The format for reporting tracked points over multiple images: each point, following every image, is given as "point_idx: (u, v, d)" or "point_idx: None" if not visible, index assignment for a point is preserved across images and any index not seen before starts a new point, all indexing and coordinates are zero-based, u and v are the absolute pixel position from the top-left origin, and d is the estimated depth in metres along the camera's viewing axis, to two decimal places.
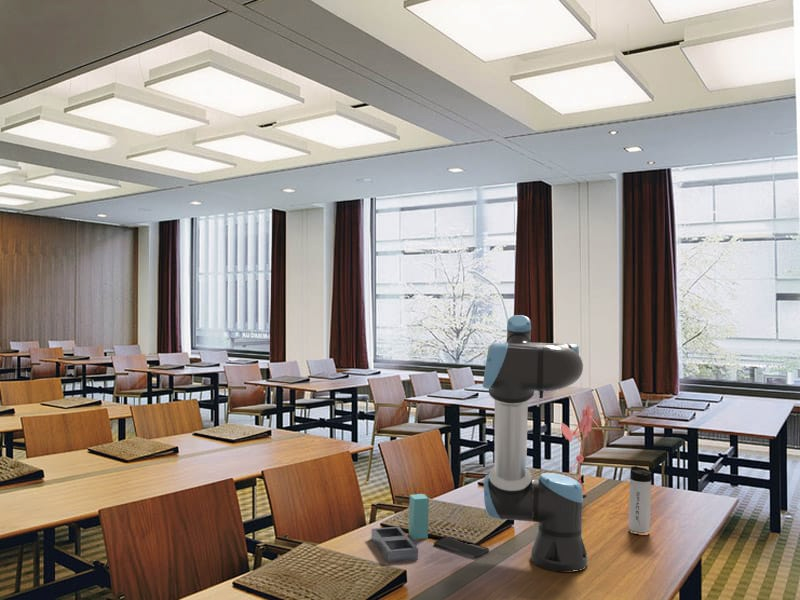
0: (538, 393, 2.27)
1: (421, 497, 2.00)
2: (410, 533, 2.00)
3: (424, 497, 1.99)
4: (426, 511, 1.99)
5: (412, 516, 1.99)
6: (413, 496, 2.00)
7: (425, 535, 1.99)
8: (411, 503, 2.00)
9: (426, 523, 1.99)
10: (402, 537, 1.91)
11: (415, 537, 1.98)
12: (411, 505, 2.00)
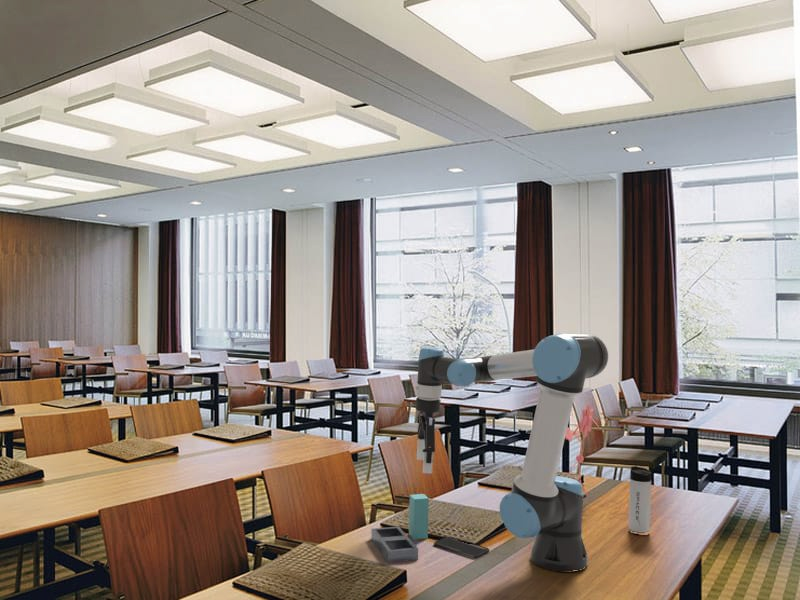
0: None
1: (421, 497, 2.00)
2: (410, 533, 2.00)
3: (424, 497, 1.99)
4: (426, 511, 1.99)
5: (412, 516, 1.99)
6: (413, 496, 2.00)
7: (425, 535, 1.99)
8: (411, 503, 2.00)
9: (426, 523, 1.99)
10: (402, 537, 1.91)
11: (415, 537, 1.98)
12: (411, 505, 2.00)
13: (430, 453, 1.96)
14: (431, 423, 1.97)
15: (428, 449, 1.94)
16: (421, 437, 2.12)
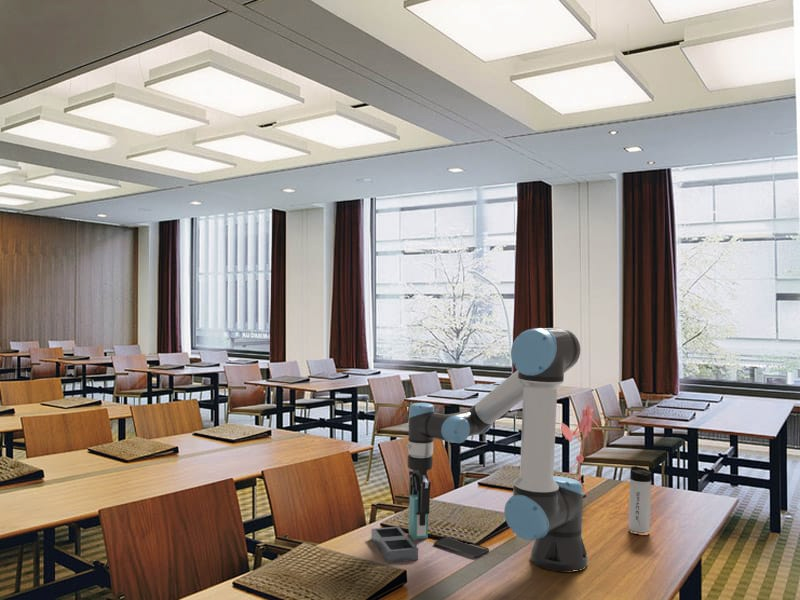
0: None
1: None
2: (410, 533, 2.00)
3: None
4: None
5: (412, 516, 1.99)
6: (413, 496, 2.00)
7: None
8: (411, 503, 2.00)
9: (426, 523, 1.99)
10: (402, 537, 1.91)
11: (415, 537, 1.98)
12: (411, 505, 2.00)
13: (424, 515, 1.96)
14: (427, 487, 1.94)
15: (423, 513, 1.94)
16: None
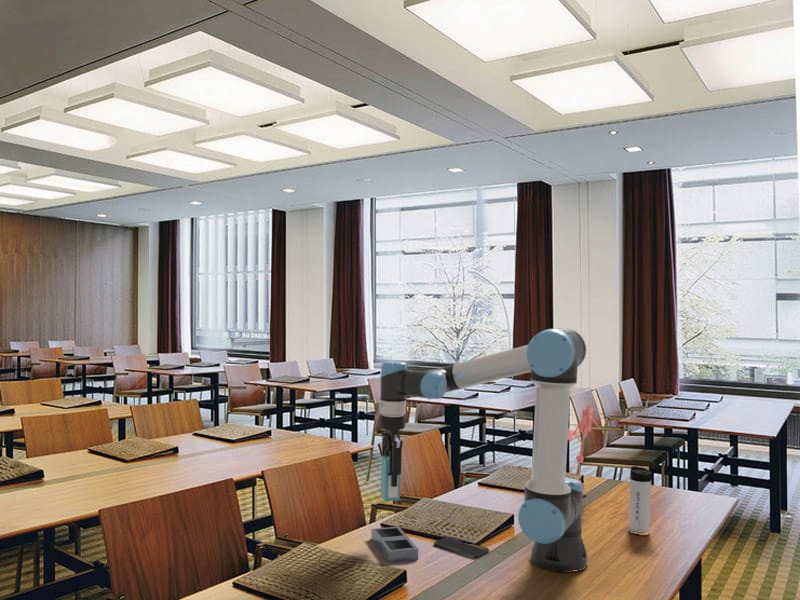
0: None
1: None
2: (382, 495, 1.94)
3: None
4: None
5: (384, 477, 1.93)
6: (385, 457, 1.94)
7: None
8: (383, 464, 1.94)
9: (398, 484, 1.93)
10: (402, 537, 1.91)
11: (387, 499, 1.92)
12: (383, 466, 1.94)
13: (395, 476, 1.90)
14: (398, 446, 1.88)
15: (394, 473, 1.88)
16: None
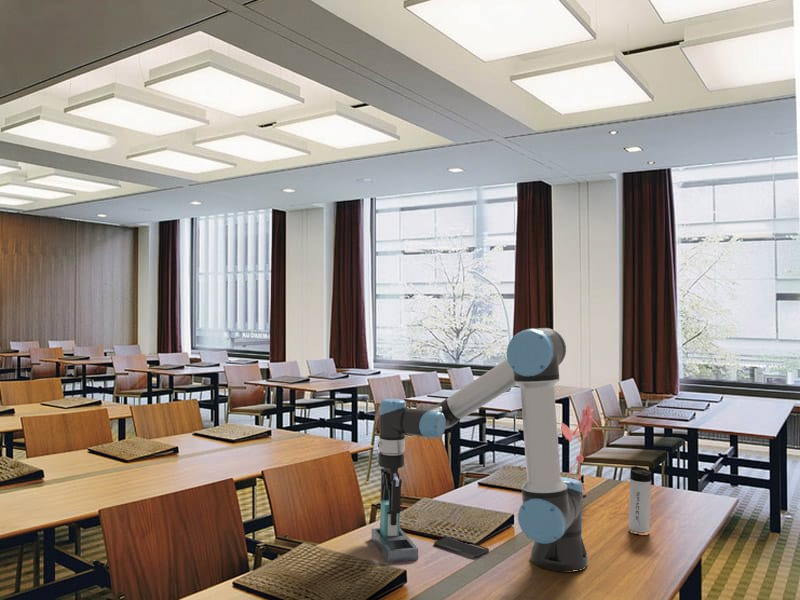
0: None
1: None
2: None
3: None
4: (398, 517, 1.93)
5: (383, 522, 1.93)
6: (384, 501, 1.94)
7: None
8: (382, 509, 1.94)
9: (397, 529, 1.93)
10: (402, 537, 1.91)
11: None
12: (382, 511, 1.94)
13: (395, 515, 1.90)
14: (397, 485, 1.88)
15: (393, 512, 1.88)
16: None
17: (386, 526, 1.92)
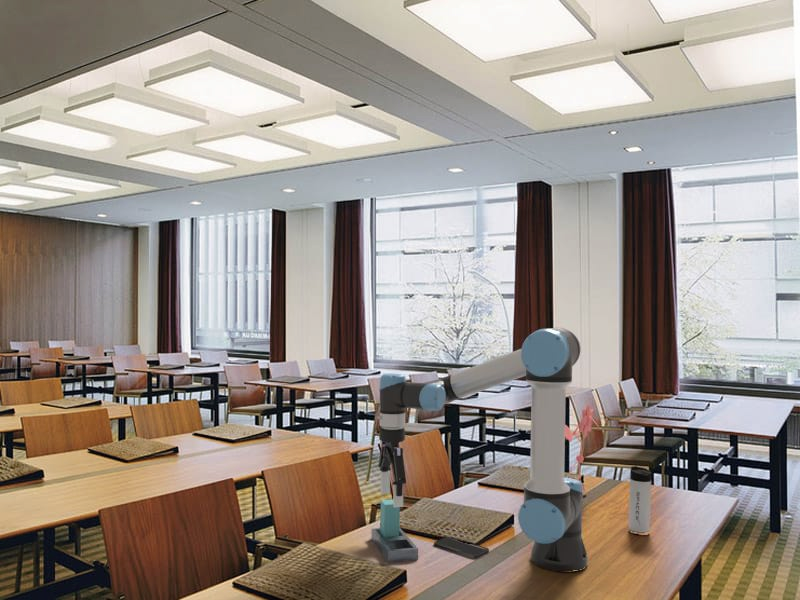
0: None
1: (392, 502, 1.94)
2: None
3: None
4: (398, 517, 1.93)
5: (383, 522, 1.93)
6: (384, 501, 1.94)
7: None
8: (382, 509, 1.94)
9: (397, 529, 1.93)
10: (402, 537, 1.91)
11: None
12: (382, 511, 1.94)
13: (401, 485, 1.86)
14: (399, 453, 1.88)
15: (399, 481, 1.84)
16: (384, 469, 2.01)
17: (386, 526, 1.92)
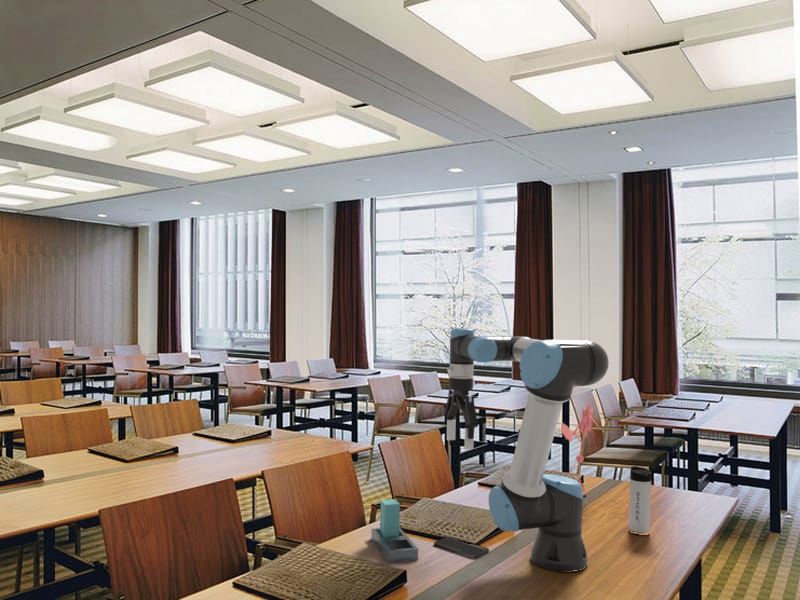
0: None
1: (392, 502, 1.94)
2: None
3: (395, 502, 1.93)
4: (398, 517, 1.93)
5: (383, 522, 1.93)
6: (384, 501, 1.94)
7: None
8: (382, 509, 1.94)
9: (397, 529, 1.93)
10: (402, 537, 1.91)
11: None
12: (382, 511, 1.94)
13: (472, 429, 2.03)
14: (471, 400, 2.04)
15: (472, 424, 2.01)
16: (450, 417, 2.17)
17: (386, 526, 1.92)
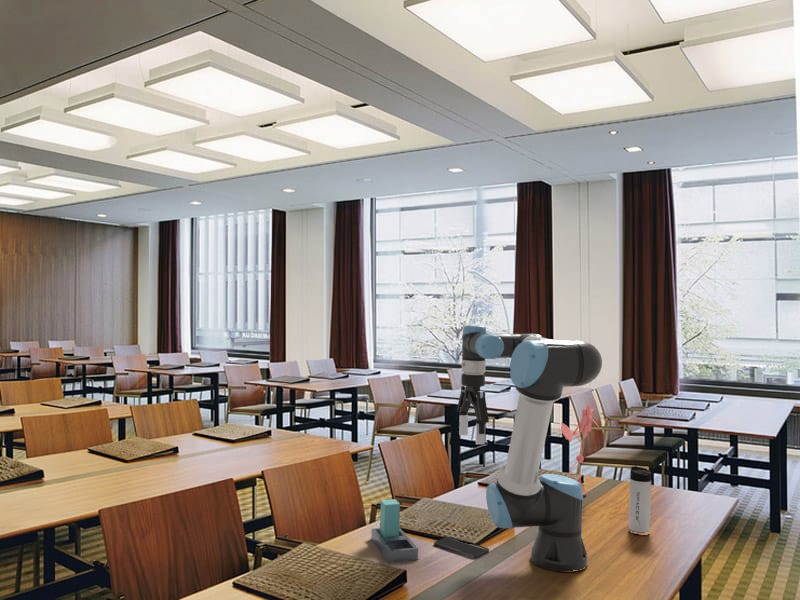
0: None
1: (392, 502, 1.94)
2: None
3: (395, 502, 1.93)
4: (398, 517, 1.93)
5: (383, 522, 1.93)
6: (384, 501, 1.94)
7: None
8: (382, 509, 1.94)
9: (397, 529, 1.93)
10: (402, 537, 1.91)
11: None
12: (382, 511, 1.94)
13: (483, 424, 2.06)
14: (482, 396, 2.07)
15: (483, 420, 2.04)
16: (462, 413, 2.20)
17: (386, 526, 1.92)
